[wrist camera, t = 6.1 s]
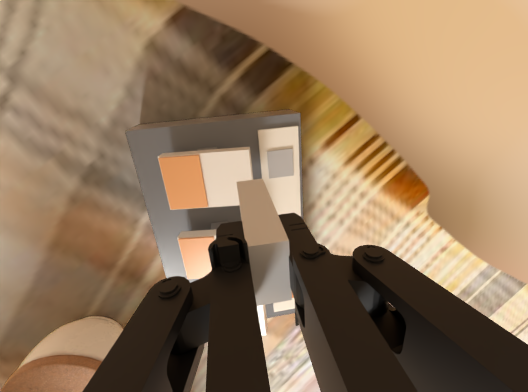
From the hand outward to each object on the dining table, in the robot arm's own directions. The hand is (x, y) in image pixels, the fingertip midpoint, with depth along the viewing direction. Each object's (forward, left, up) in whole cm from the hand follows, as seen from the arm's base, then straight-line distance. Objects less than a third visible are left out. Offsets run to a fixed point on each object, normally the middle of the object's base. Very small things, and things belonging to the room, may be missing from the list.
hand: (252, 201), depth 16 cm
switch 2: (-7, +3, -7) cm, 10 cm away
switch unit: (-7, +2, -12) cm, 14 cm away
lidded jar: (-20, +20, -13) cm, 31 cm away
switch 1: (0, +3, -7) cm, 7 cm away
